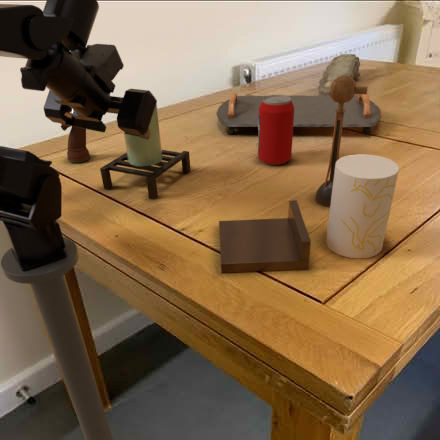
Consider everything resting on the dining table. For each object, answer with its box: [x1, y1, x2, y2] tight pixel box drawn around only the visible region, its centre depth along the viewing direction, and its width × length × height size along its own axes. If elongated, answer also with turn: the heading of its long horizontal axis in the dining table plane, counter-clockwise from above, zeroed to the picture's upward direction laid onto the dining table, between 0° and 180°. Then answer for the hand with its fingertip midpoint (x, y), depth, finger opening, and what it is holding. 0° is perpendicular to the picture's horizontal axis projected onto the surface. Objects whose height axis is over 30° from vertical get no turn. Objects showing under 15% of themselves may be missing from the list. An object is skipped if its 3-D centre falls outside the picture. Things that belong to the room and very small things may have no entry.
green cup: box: [123, 102, 164, 166], centre depth 84 cm, size 6×6×10 cm
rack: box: [99, 149, 191, 200], centre depth 88 cm, size 13×11×4 cm
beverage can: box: [257, 94, 294, 166], centre depth 91 cm, size 7×7×12 cm
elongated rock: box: [317, 53, 361, 95], centre depth 135 cm, size 35×5×10 cm
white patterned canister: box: [325, 153, 400, 259], centre depth 66 cm, size 8×8×12 cm
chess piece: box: [60, 124, 91, 164], centre depth 96 cm, size 5×5×10 cm
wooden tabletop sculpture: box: [314, 75, 368, 208], centre depth 74 cm, size 6×5×20 cm
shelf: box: [218, 199, 312, 274], centre depth 68 cm, size 12×12×4 cm
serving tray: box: [216, 92, 382, 136], centre depth 112 cm, size 39×23×6 cm, turn 84°
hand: (126, 133), depth 80 cm, fingers open, 9 cm apart
